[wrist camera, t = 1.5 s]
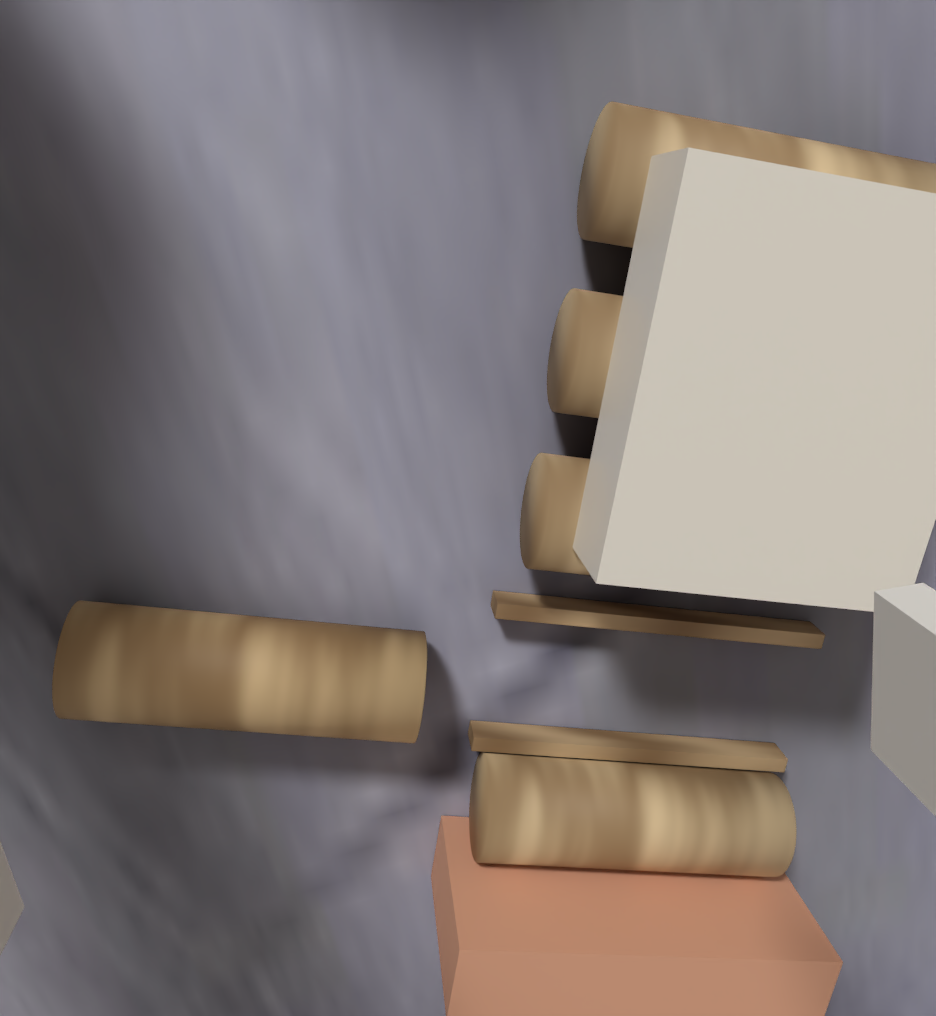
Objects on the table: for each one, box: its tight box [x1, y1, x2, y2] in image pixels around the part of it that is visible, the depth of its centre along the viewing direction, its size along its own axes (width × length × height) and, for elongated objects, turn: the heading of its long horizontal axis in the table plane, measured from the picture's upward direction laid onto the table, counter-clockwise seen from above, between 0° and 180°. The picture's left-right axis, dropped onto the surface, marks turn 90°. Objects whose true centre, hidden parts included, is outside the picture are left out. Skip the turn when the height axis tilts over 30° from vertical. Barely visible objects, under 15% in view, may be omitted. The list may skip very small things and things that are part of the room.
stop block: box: [431, 816, 843, 1016], centre depth 34 cm, size 14×3×7 cm, turn 82°
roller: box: [52, 600, 427, 743], centre depth 31 cm, size 12×4×4 cm, turn 82°
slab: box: [573, 147, 936, 612], centre depth 26 cm, size 10×12×3 cm
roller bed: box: [468, 102, 936, 877], centre depth 31 cm, size 13×27×4 cm, turn 172°
